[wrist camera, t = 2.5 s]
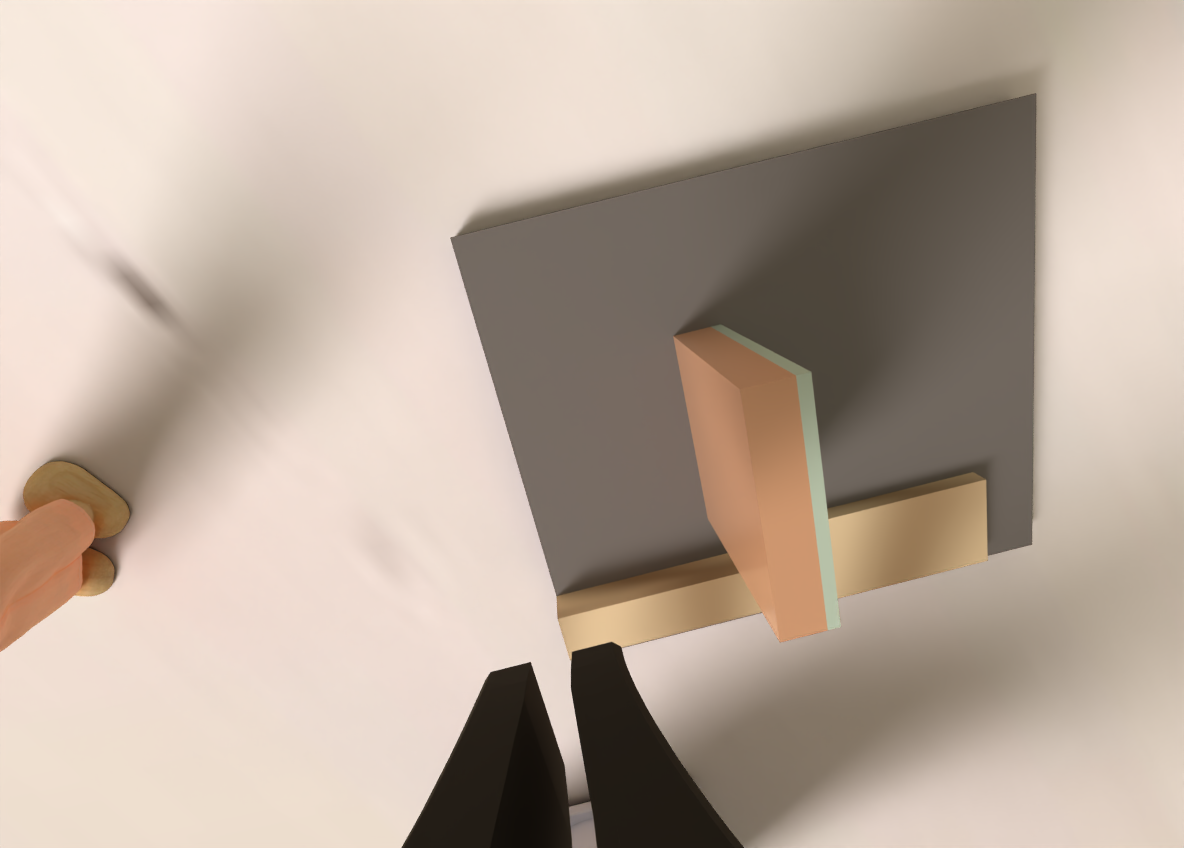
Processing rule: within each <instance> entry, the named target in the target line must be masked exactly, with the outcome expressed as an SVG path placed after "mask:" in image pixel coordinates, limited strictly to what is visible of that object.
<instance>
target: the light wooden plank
mask: <svg viewBox="0 0 1184 848" xmlns="http://www.w3.org/2000/svg"><path fill="white" fill-rule="evenodd" d="M827 512H828V521H829V529H830V538H831V546H832V555H833V564H834V572H835V581H836V590H837V598H842V597H846V596H850V595H854V594H858V593H862V592H866V591H869V590H873V589H877V588H881V587H885V586H889V585H893V584H897V583H901V582H905V581H909V580H913V579H917V578H921V577H925V576H929V575H933V574H937V573H941V572H945V571H949V570H953V569H957V568H961V567H965V566H968V565H972V564H976V563H980V562H984V561H988V552H987V498H986V479H984V478H983V477H981V476H979V475H977V474H976V473H974V472H971V473H967V474H963V475H959V476H955V477H951V478H947V479H943V480H939V481H935V482H931V483H927V484H923V485H919V486H916V487H912V488H908V489H904V490H900V491H896V492H892V493H888V494H884V495H880V496H876V497H872V498H868V499H864V500H860V501H856V502H852V503H848V504H844V505H840V506H836V507H832V508H828V509H827ZM761 612H762V611H761V609H760V607H759V606H758V604H757V602H756V600H755V599H754V597H753V595H752V594H751V592H750V590H749V588H748V587H747V585H746V583H745V582H744V580H743V578H742V576H741V575H740V573H739V571H738V570H737V568H736V566H735V564H734V563H733V561H732V559H731V558H730V556H729V554H728V553H726V554H722V555H718V556H714V557H710V558H706V559H702V560H698V561H694V562H690V563H686V564H682V565H678V566H674V567H670V568H666V569H662V570H659V571H655V572H651V573H647V574H643V575H639V576H635V577H631V578H627V579H623V580H619V581H615V582H611V583H607V584H603V585H599V586H595V587H591V588H587V589H583V590H579V591H575V592H571V593H567V594H563V595H559V596H557V613H558V621H559V625H560V628H561V631H562V635H563V638H564V641H565V645H566V648H567V651H568V655H569V658H570V660H572V652H573V651H577V650H581V649H585V648H589V647H593V646H597V645H600V644H604V643H608V642H614V643H616V644H617V645H619V646H621V648H622V647H626V646H630V645H634V644H638V643H642V642H646V641H650V640H654V639H658V638H662V637H666V636H669V635H673V634H677V633H681V632H685V631H689V630H693V629H697V628H701V627H705V626H709V625H713V624H717V623H721V622H725V621H729V620H733V619H737V618H741V617H745V616H749V615H753V614H757V613H761Z"/></svg>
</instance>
